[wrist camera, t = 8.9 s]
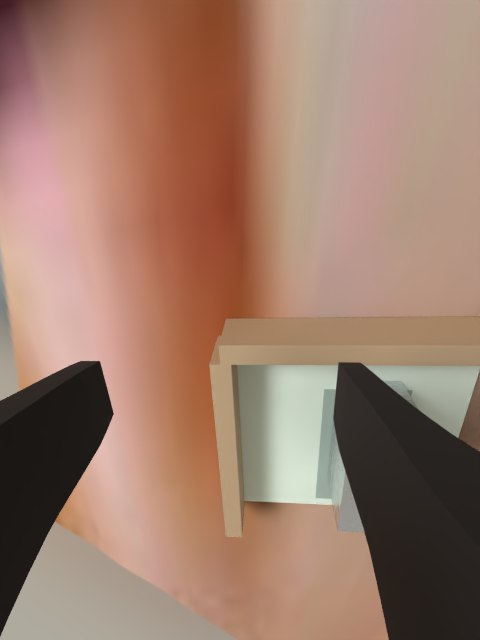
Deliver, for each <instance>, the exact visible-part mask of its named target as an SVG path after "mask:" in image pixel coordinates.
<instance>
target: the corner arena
mask: <svg viewBox="0 0 480 640" xmlns="http://www.w3.org/2000/svg"><path fill="white" fill-rule="evenodd" d="M339 362H361V363H362V364H363V365H364V366H366V367H367V368H368V369H369V370H371V371H372V372H373V373H374V374H375V375H377V376H378V377H379V378H380V379H381V380H382V381H401V382H402V384H403V385H404V387H405V389H406V390H407V392H408V393H409V395H410V396H411V398H412V399H413V401H414V402H415V404H416V405H417V407H418V409H419V410H420V411H421V412H422V413H424V414H425V415H426V416H428V417H429V418H430V419H432V420H433V421H435V422H436V423H437V424H439V425H440V426H442V427H443V428H444V429H446V430H447V431H449V432H450V433H451V434H453V435H454V436H456V437H457V438H458V437H459V434H460V431H461V428H462V425H463V421H464V418H465V415H466V412H467V409H468V406H469V402H470V399H471V396H472V393H473V390H474V387H475V383H476V380H477V377H478V374H479V371H480V317H377V318H243V319H226V322H225V325H224V329H223V332H222V336H218V338H217V341H216V345H215V348H214V351H213V355H212V358H211V361H210V364H209V365H210V376H211V386H212V396H213V407H214V417H215V428H216V438H217V448H218V459H219V469H220V479H221V490H222V500H223V510H224V521H225V531H226V536H228V537H242V531H243V517H244V502H245V501H259V502H282V503H305V504H328V505H332V500H331V495H330V490H329V485H328V480H327V474H328V464H329V453H330V443H331V433H332V423H333V412H334V402H335V392H336V382H337V373H338V363H339Z"/></svg>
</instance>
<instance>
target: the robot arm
mask: <svg viewBox="0 0 480 640" xmlns="http://www.w3.org/2000/svg"><path fill="white" fill-rule="evenodd" d="M113 414H114V413H113V410H112V406H111V402H110V398H109V394H108V390H107V387H106V383H105V379H104V375H103V371H102V367H101V364H100V361H80V362H78V363H75V364H73V365H70V366H68V367H66V368H64V369H62V370H60V371H58V372H56V373H54V374H52V375H50V376H48V377H46V378H44V379H42V380H40V381H38V382H36V383H34V384H32V385H30V386H29V387H27V388H25V389H23V390H21V391H19V392H17V393H15V394H13V395H11V396H9V397H7V398H5V399H3V400H1V401H0V636H1V633H2V631H3V629H4V626H5V624H6V621H7V619H8V617H9V615H10V613H11V610H12V608H13V606H14V604H15V602H16V599H17V597H18V595H19V593H20V591H21V589H22V586H23V584H24V582H25V580H26V577H27V575H28V573H29V571H30V569H31V567H32V565H33V563H34V561H35V559H36V557H37V555H38V553H39V551H40V549H41V546H42V545H43V542H44V540H45V538H46V536H47V534H48V532H49V531H50V529H51V527H52V525H53V523H54V522H55V520H56V518H57V516H58V515H59V513H60V511H61V510H62V508H63V506H64V505H65V503H66V501H67V500H68V498H69V496H70V495H71V493H72V491H73V490H74V488H75V486H76V485H77V483H78V481H79V480H80V478H81V477H82V475H83V473H84V472H85V470H86V468H87V467H88V465H89V463H90V461H91V460H92V458H93V456H94V455H95V453H96V451H97V450H98V448H99V446H100V444H101V442H102V440H103V438H104V436H105V433H106V431H107V429H108V426H109V424H110V422H111V419H112V417H113ZM333 421H334V426H335V432H336V437H337V443H338V448H339V452H340V455H341V459H342V462H343V465H344V468H345V471H346V475H347V478H348V481H349V484H350V487H351V491H352V494H353V497H354V500H355V503H356V506H357V509H358V513H359V516H360V519H361V522H362V525H363V528H364V532H365V535H366V539H367V543H368V546H369V550H370V554H371V558H372V563H373V567H374V572H375V576H376V581H377V585H378V590H379V594H380V599H381V604H382V609H383V613H384V618H385V623H386V628H387V633H388V637H389V640H480V452H479V451H477V450H476V449H474V448H473V447H471V446H469V445H468V444H466V443H465V442H463V441H462V440H460V439H459V438H457V437H456V436H454V435H453V434H451V433H450V432H449V431H447V430H446V429H444V428H443V427H442V426H440V425H439V424H437V423H436V422H435V421H433V420H432V419H430V418H429V417H428V416H426V415H425V414H424V413H422V412H421V411H420V410H418V409H417V408H416V407H414V406H413V405H412V404H411V403H409V402H408V401H407V400H406V399H404V398H403V397H402V396H401V395H399V394H398V393H397V392H396V391H394V390H393V389H392V388H391V387H390V386H388V385H387V384H386V383H385V382H384V381H382V380H381V379H380V378H379V377H378V376H377V375H375V374H374V373H373V372H372V371H371V370H369V369H368V368H367V367H366V366H364V365H363V364H362V363H361V362H339V363H338V373H337V383H336V394H335V404H334V414H333Z"/></svg>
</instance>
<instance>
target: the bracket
mask: <svg viewBox="0 0 480 640" xmlns="http://www.w3.org/2000/svg"><path fill="white" fill-rule="evenodd" d="M384 382H385V383H386V384H387V385H388V386H390V387H391V388H392V389H393V390H394V391H396V392H397V393H398V394H399V395H401V396H402V397H403V398H404V399H406V400H407V401H408V402H409V403H411V404H412V405H413V406H414V407H416V408H417V409H418V407H417V405H416V404H415V402H414V401H413V399H412V398H411V396H410V395H409V393H408V392H407V390H406V389H405V387H404V385H403V384H402V382H401V381H384ZM336 383H337V382H336ZM335 394H336V392H335ZM334 404H335V402H334ZM418 410H419V409H418ZM333 414H334V412H333ZM327 480H328V485H329V490H330V495H331V500H332V505H333V511H334V516H335V521H336V526H337V531H347V532H364V528H363V525H362V522H361V519H360V516H359V513H358V509H357V506H356V503H355V500H354V497H353V494H352V491H351V487H350V484H349V481H348V478H347V475H346V471H345V468H344V465H343V462H342V459H341V455H340V452H339V448H338V443H337V437H336V432H335V426H334V421H333V423H332V433H331V443H330V453H329V464H328V474H327Z"/></svg>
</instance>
